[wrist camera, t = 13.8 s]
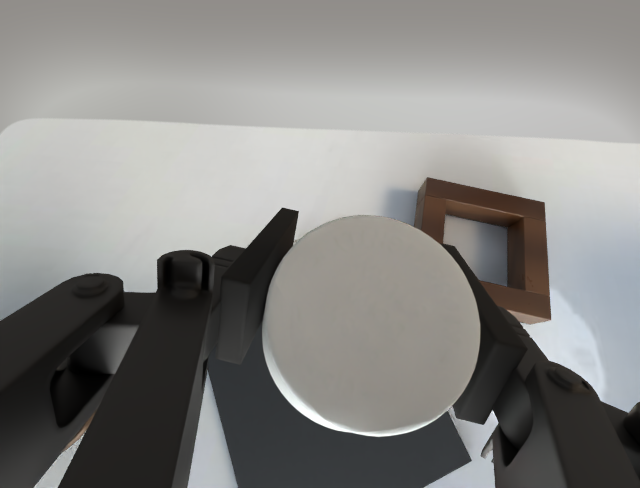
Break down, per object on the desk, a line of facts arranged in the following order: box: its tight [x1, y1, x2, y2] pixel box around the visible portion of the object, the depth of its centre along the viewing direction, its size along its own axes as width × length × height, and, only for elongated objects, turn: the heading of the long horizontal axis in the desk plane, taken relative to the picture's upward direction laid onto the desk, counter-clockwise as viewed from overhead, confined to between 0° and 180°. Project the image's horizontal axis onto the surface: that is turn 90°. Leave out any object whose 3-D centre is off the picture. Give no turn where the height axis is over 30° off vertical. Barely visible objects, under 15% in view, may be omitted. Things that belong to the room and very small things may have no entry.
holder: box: [414, 177, 551, 324], centre depth 28 cm, size 11×11×2 cm
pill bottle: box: [262, 215, 480, 437], centre depth 13 cm, size 6×6×11 cm
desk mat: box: [208, 320, 472, 488], centre depth 25 cm, size 20×16×1 cm
